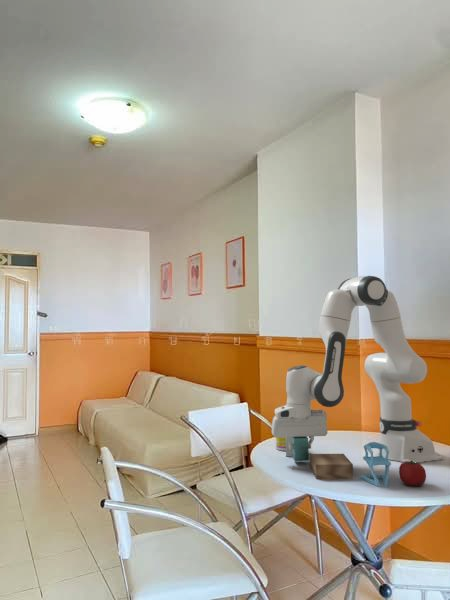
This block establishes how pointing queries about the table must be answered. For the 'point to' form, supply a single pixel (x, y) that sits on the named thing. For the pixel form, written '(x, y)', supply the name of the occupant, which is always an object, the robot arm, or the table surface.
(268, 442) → the table surface
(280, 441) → the supplement bottle
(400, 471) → the tomato
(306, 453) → the spice tin
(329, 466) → the walnut block
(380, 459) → the chair
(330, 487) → the table surface
